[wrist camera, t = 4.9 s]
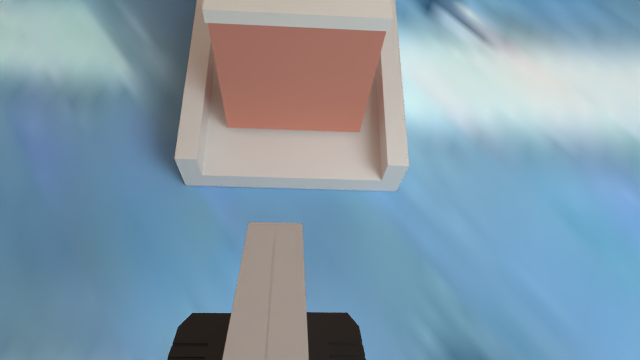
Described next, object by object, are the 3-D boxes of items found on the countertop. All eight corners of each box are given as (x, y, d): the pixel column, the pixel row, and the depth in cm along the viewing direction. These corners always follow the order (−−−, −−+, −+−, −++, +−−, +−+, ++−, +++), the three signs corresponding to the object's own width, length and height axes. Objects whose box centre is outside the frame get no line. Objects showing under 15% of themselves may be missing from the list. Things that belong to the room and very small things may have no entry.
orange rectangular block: (361, 133, 31) (392, 18, 22) (225, 128, 30) (202, 9, 21) (358, 64, 33) (386, -65, 24) (232, 59, 33) (213, -75, 24)
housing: (397, 191, 31) (433, 118, 24) (184, 185, 31) (152, 107, 23) (379, -57, 41) (402, -166, 33) (216, -66, 40) (201, -180, 32)
